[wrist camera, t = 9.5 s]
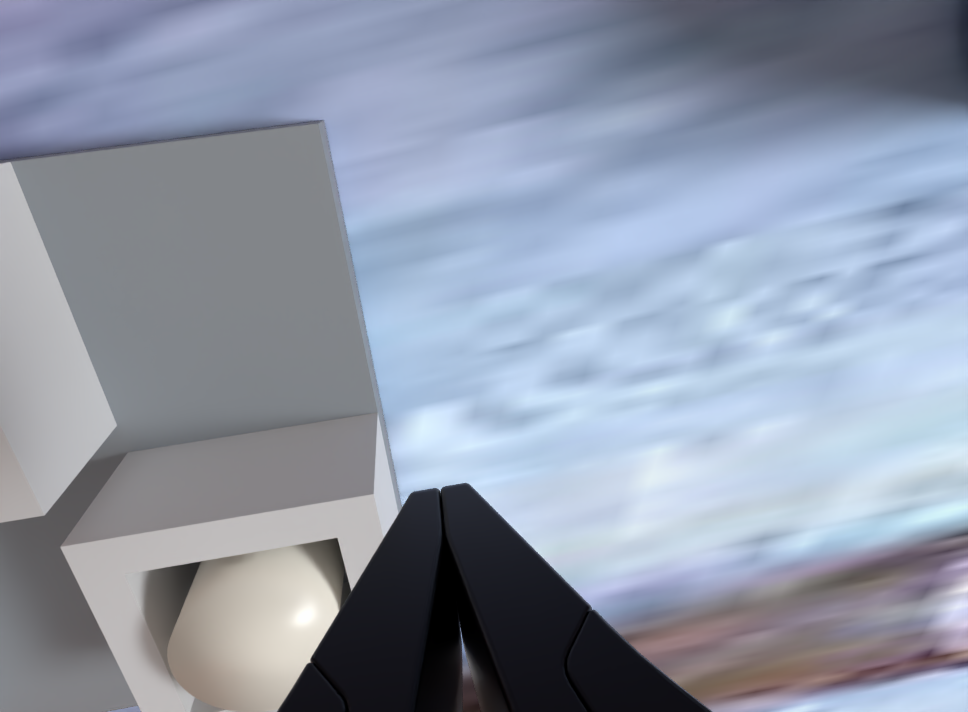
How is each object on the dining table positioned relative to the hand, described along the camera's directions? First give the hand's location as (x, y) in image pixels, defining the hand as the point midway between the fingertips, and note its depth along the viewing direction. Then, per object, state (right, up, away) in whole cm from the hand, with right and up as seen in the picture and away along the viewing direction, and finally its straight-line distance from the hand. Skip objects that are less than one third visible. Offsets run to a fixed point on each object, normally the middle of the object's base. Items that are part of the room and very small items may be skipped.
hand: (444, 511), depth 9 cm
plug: (-6, -4, +13) cm, 15 cm away
